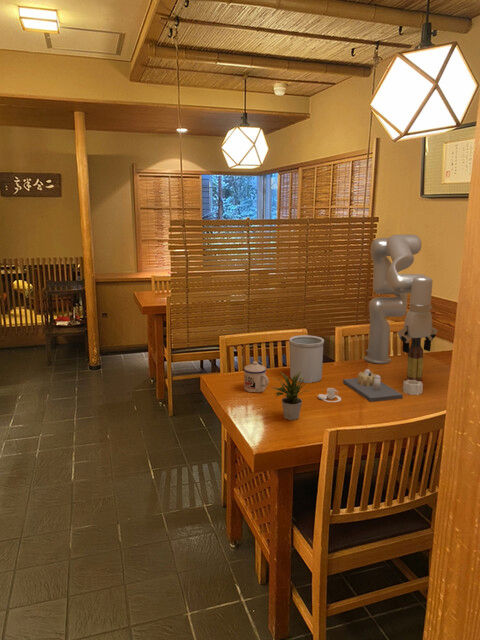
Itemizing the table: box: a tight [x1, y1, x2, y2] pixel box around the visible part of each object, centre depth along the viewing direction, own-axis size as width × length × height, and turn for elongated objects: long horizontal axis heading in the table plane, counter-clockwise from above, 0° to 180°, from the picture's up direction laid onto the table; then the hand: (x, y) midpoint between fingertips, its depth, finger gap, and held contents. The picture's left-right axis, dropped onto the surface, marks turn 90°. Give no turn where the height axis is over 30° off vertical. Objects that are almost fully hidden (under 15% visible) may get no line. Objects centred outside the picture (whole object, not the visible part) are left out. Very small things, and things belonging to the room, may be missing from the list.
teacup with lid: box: [243, 361, 270, 393], centre depth 185 cm, size 12×9×12 cm
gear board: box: [342, 368, 404, 403], centre depth 185 cm, size 22×14×8 cm, turn 15°
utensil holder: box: [288, 334, 325, 384], centre depth 199 cm, size 15×15×18 cm
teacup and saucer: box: [317, 387, 342, 403], centre depth 177 cm, size 9×8×4 cm
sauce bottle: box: [406, 338, 424, 382], centre depth 197 cm, size 7×6×20 cm
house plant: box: [272, 371, 311, 421], centre depth 160 cm, size 14×14×16 cm
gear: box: [402, 379, 424, 396], centre depth 184 cm, size 7×7×4 cm
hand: (416, 351), depth 180 cm, fingers open, 9 cm apart
